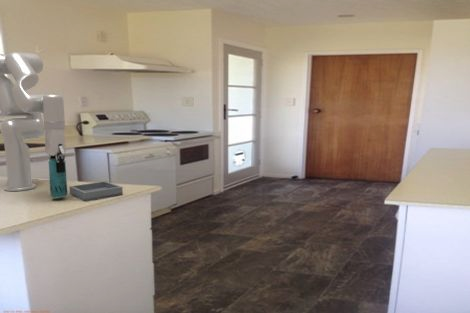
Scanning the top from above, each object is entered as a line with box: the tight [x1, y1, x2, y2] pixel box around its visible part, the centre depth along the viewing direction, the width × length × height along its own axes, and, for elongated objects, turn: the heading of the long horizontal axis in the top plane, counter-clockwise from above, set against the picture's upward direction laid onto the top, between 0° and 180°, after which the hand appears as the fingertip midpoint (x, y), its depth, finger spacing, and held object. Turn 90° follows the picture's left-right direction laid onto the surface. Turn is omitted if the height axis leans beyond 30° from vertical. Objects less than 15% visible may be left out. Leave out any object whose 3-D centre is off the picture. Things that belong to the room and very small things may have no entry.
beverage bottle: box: [48, 153, 69, 198], centre depth 156 cm, size 6×7×20 cm
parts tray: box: [69, 180, 123, 202], centre depth 164 cm, size 16×16×4 cm
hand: (57, 170), depth 156 cm, fingers closed on beverage bottle, 6 cm apart
